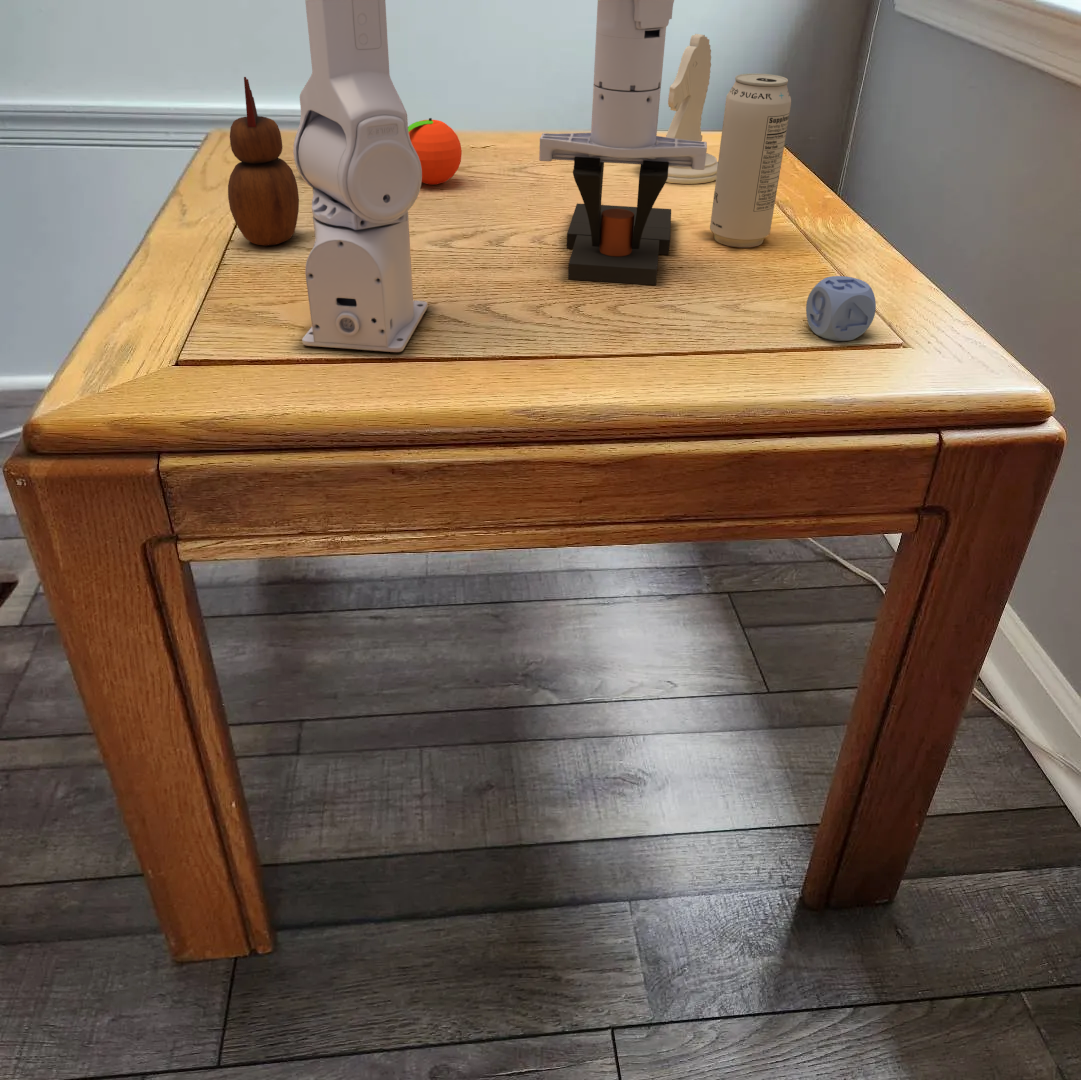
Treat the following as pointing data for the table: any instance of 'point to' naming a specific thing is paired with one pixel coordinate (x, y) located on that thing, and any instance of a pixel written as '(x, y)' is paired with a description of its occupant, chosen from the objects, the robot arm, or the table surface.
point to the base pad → (653, 230)
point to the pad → (614, 266)
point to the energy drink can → (750, 159)
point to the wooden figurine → (261, 180)
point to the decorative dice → (840, 308)
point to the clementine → (435, 150)
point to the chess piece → (691, 108)
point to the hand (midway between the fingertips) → (616, 244)
